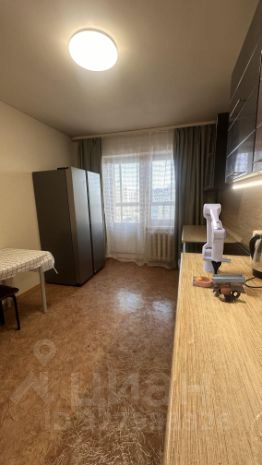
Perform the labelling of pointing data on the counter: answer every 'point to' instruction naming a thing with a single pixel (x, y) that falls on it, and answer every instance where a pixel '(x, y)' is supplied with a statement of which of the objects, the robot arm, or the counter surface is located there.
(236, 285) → the base
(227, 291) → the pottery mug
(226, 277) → the lever
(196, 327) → the counter surface
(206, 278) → the orange bowl
